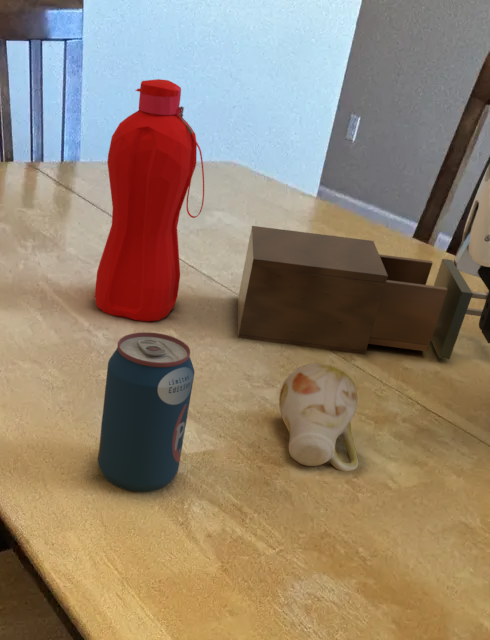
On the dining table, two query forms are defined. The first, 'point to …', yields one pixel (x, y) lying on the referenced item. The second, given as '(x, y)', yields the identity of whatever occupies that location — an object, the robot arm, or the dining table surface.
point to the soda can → (145, 411)
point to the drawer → (422, 306)
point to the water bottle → (147, 206)
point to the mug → (319, 414)
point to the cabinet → (310, 290)
